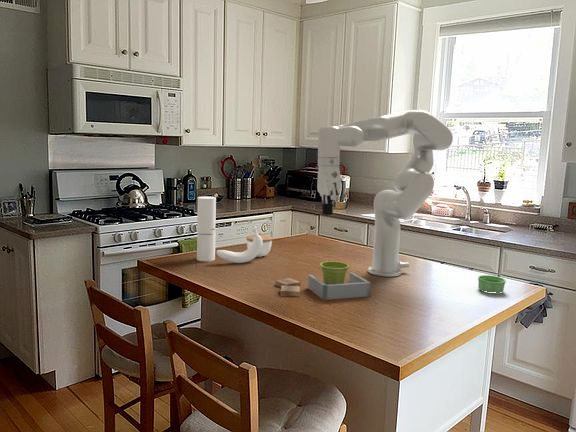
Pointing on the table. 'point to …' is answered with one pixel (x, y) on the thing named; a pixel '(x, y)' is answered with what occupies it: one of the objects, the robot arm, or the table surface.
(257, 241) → the white curved piece
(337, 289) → the u-shaped fence
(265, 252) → the lidded jar
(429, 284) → the table surface
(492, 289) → the ramekin
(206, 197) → the cylindrical container
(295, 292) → the tile
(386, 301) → the table surface
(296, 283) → the tile
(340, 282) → the plant pot
